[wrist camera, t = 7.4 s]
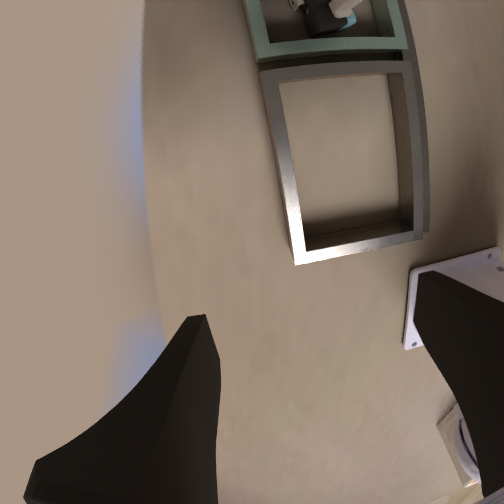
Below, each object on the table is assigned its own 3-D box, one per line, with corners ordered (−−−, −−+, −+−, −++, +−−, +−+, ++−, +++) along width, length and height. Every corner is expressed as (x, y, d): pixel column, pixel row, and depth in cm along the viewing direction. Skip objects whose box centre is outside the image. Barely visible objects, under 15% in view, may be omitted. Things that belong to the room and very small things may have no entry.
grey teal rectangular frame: (365, -82, 11) (375, -95, 9) (420, 224, 20) (434, 235, 18) (221, -81, 11) (220, -96, 9) (290, 250, 21) (295, 265, 19)
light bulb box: (504, 390, 32) (537, 442, 22) (476, 421, 34) (503, 472, 25) (464, 392, 30) (501, 457, 20) (433, 426, 33) (461, 489, 23)
